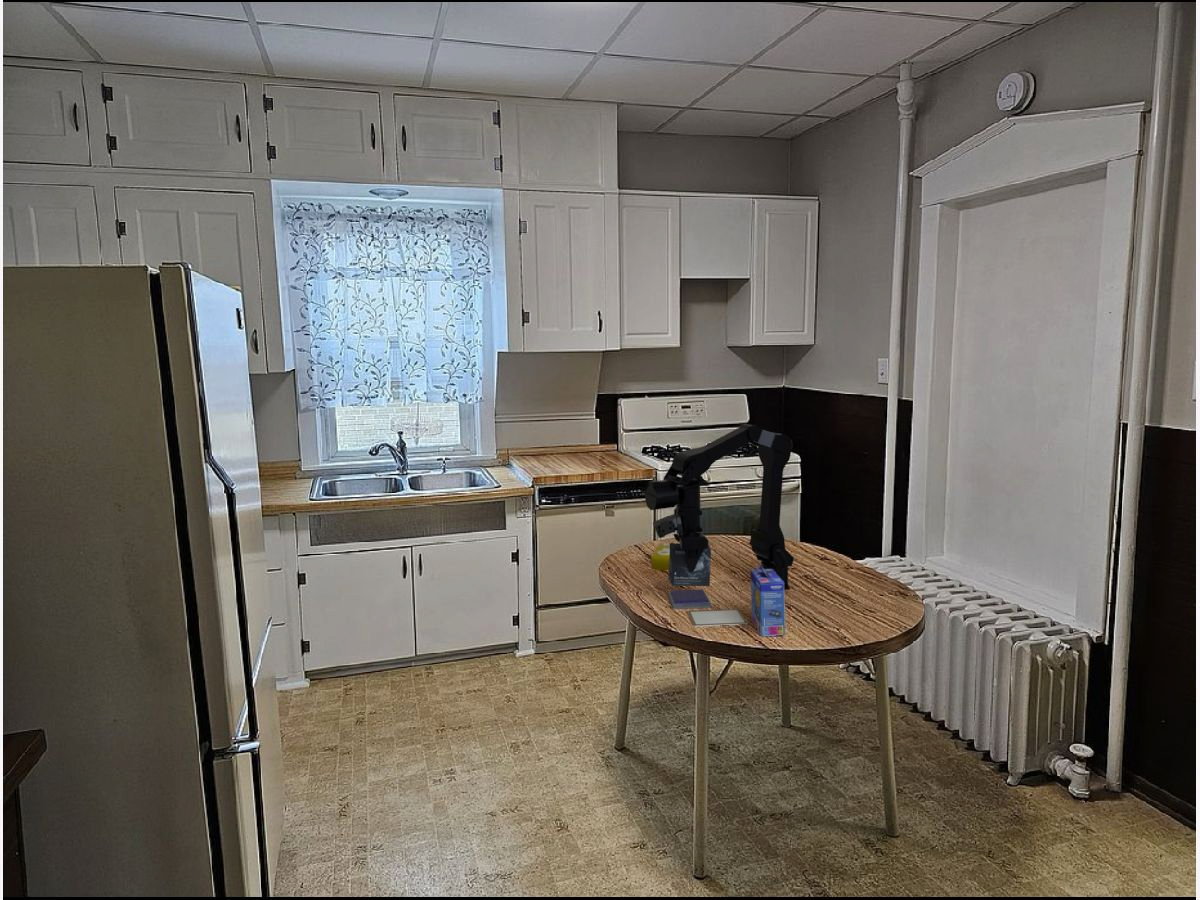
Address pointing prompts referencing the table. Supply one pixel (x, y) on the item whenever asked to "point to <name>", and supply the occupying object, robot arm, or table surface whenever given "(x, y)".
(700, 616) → the card
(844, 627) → the table surface
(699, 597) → the ink pad
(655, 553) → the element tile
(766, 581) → the ink cartridge box
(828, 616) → the table surface
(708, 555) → the box
